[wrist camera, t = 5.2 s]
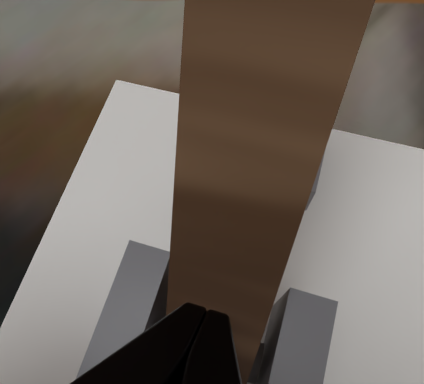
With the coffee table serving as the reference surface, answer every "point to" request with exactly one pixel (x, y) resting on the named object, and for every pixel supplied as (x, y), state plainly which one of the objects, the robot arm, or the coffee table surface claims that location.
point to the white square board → (160, 253)
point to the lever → (252, 148)
